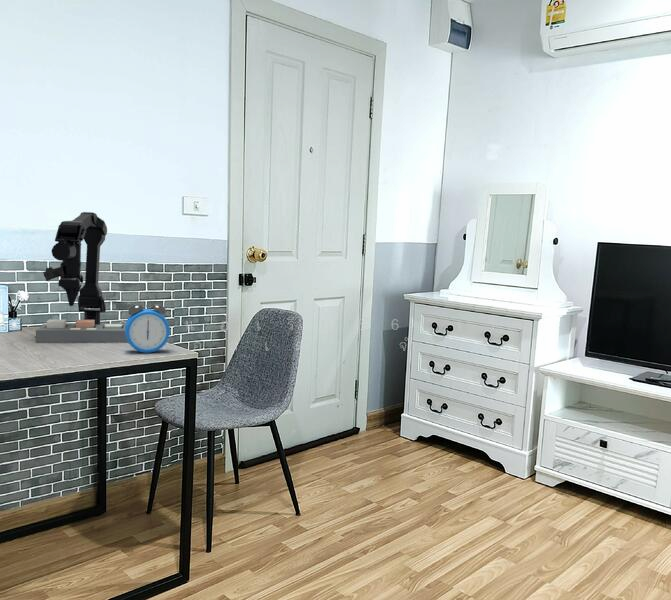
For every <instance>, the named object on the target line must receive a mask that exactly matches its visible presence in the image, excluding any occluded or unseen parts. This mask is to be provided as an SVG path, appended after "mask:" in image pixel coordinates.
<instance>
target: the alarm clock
mask: <svg viewBox="0 0 671 600" xmlns="http://www.w3.org/2000/svg"><path fill="white" fill-rule="evenodd" d="M144 307H145V306H143V305H142V304H141V303H135V304H132V305H131V306H130V307H129V308H128V312H127V313H128V314H127V315H129V316H128V317H127V319H126V322H125V324H124V325H125V336H126V338H127V341H128V342H127V343H128V344H129V345H130V347H132V348H133V349H134V350H136V351H135V354H137V353H138V352H140V353H145V354H146V353H148V354H150V353H155V352H158V353H160V350H161V349H162V348H163V347H164V346H165V345H166V344H167V343H168V340H169V338H170V334H171V330H170V324H169V322H168V320H167V319H166V317H164V316H165V315H166V314H167V309H166V307H165V306H163V304H159V303H155V304H153V305H151V307H150V305H146V308H144ZM149 307H150V308H149Z"/></svg>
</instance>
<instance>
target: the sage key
mask: <svg viewBox="0 0 671 600" xmlns="http://www.w3.org/2000/svg"><path fill="white" fill-rule="evenodd" d="M104 325H105V326H104V328H122V325H123V324H122V323H105V324H104Z"/></svg>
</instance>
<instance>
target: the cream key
mask: <svg viewBox="0 0 671 600" xmlns="http://www.w3.org/2000/svg"><path fill="white" fill-rule="evenodd" d="M45 324H46V328H66V324H67V319H47V321H46V323H45Z"/></svg>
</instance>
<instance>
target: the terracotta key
mask: <svg viewBox="0 0 671 600" xmlns="http://www.w3.org/2000/svg"><path fill="white" fill-rule="evenodd" d="M75 324H76V328H95V320H84V319H77V320H76V321H75Z"/></svg>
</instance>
